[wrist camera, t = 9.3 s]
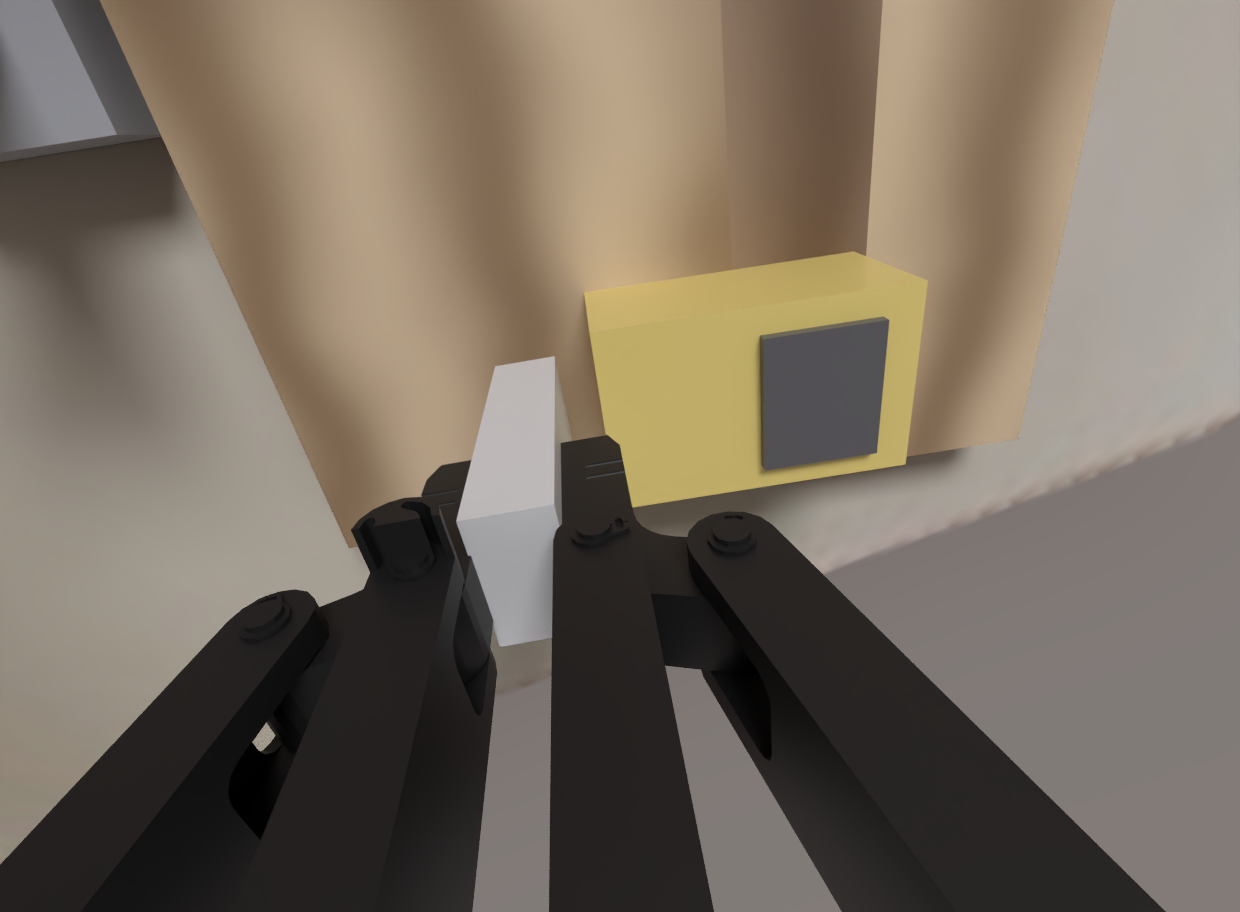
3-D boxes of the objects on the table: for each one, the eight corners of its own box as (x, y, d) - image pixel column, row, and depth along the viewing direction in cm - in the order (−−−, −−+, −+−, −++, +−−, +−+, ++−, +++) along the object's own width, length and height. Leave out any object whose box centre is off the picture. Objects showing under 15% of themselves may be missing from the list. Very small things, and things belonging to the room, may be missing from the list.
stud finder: (607, 443, 20) (618, 515, 16) (583, 292, 17) (590, 336, 13) (844, 406, 20) (911, 470, 16) (853, 251, 17) (935, 283, 13)
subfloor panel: (368, 509, 23) (348, 548, 21) (110, -108, 14) (30, -152, 12) (976, 410, 23) (1018, 438, 21) (1093, -258, 14) (1185, -327, 12)
